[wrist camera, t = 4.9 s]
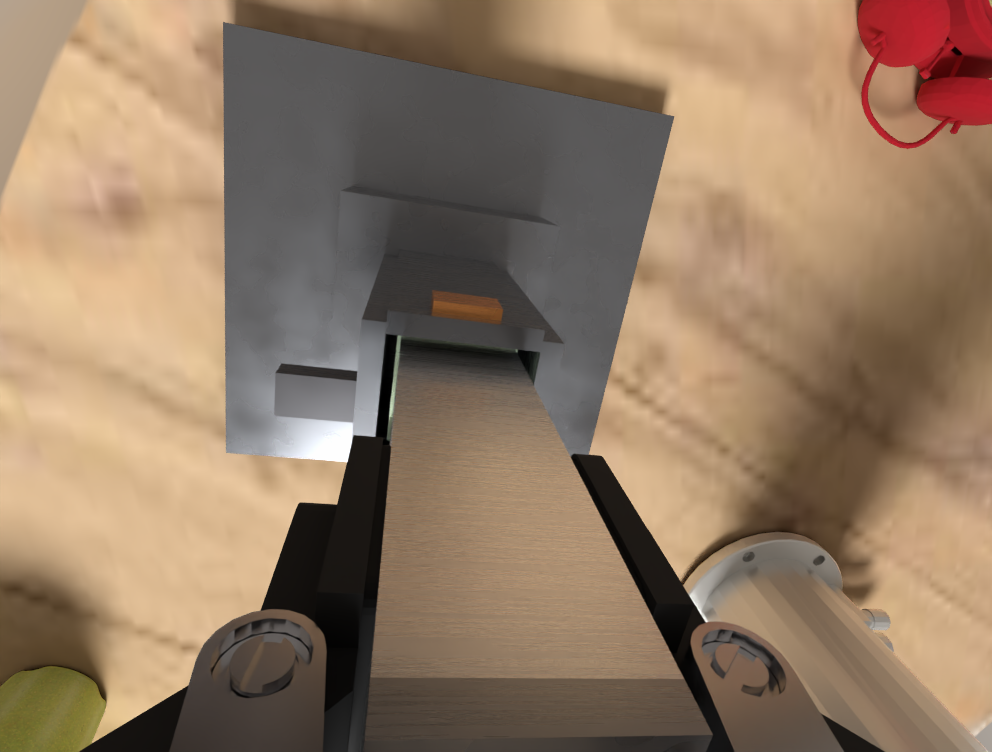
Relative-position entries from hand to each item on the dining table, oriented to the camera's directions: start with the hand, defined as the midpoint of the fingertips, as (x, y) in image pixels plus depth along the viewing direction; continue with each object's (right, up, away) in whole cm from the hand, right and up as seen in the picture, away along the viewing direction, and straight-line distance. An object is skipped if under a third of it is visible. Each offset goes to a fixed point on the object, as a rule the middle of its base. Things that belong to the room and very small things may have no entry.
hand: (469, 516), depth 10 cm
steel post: (-1, +4, +10) cm, 11 cm away
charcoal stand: (-3, +7, +18) cm, 20 cm away
